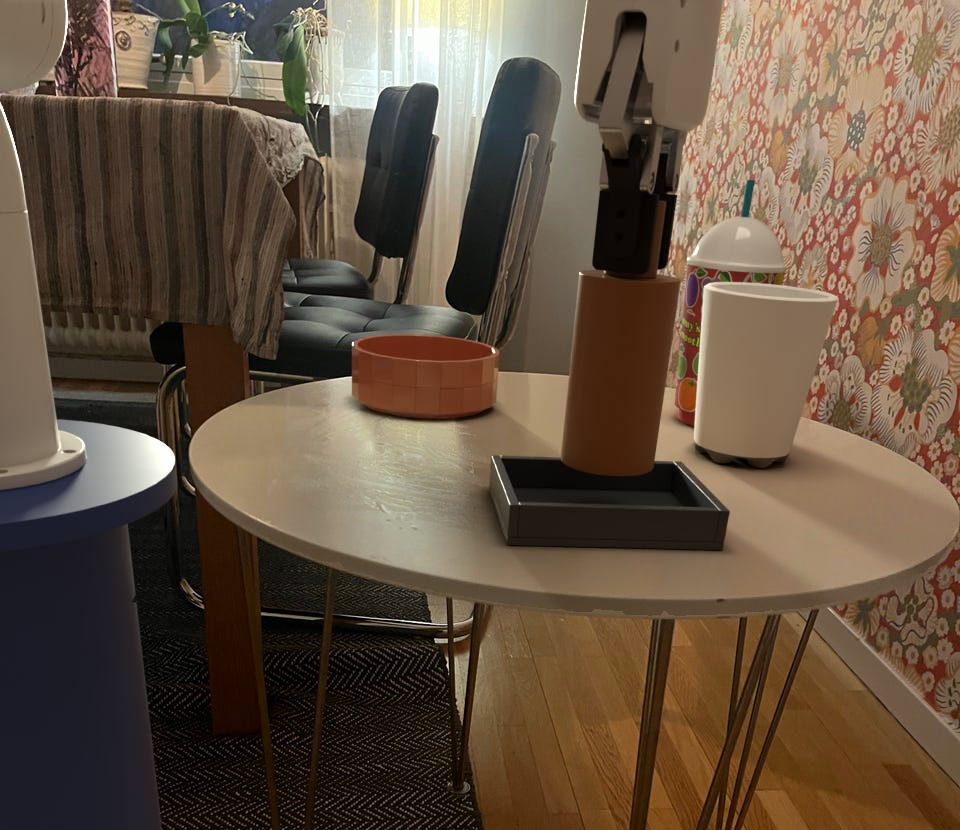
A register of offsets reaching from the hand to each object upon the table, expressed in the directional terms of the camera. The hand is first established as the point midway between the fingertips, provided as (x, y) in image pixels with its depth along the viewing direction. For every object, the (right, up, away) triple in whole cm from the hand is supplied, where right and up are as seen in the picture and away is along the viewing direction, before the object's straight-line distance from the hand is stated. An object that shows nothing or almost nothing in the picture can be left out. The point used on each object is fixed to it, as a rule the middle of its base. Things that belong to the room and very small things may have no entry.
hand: (630, 266), depth 54 cm
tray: (-1, -14, +7) cm, 15 cm away
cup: (+12, -7, +23) cm, 27 cm away
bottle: (-1, -10, +5) cm, 12 cm away
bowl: (-14, 0, +32) cm, 35 cm away
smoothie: (+12, -2, +33) cm, 35 cm away
